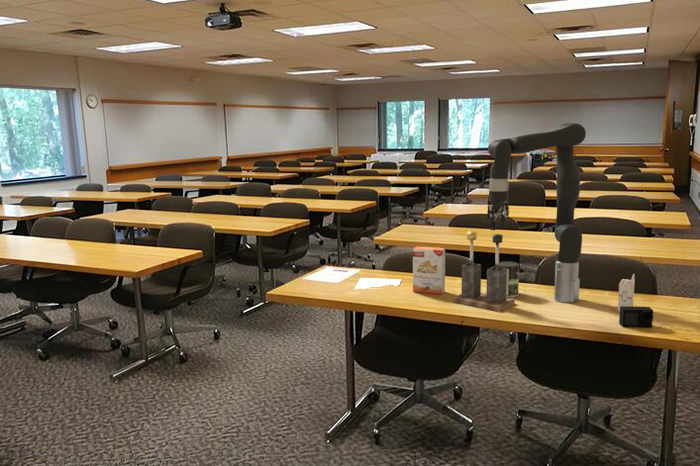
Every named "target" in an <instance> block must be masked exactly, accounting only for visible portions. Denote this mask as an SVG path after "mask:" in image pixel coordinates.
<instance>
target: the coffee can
mask: <svg viewBox="0 0 700 466" xmlns="http://www.w3.org/2000/svg"><path fill="white" fill-rule="evenodd" d="M499 267H500V268H507V280H506V298H515V297H518V296H519V294H520V293H519V284H520V282H519V280H520V263H519V262H515V261H507V260H506V261H503V260H502V261H499Z"/></svg>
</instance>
